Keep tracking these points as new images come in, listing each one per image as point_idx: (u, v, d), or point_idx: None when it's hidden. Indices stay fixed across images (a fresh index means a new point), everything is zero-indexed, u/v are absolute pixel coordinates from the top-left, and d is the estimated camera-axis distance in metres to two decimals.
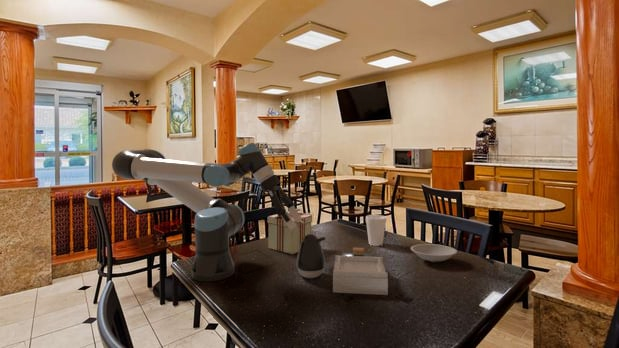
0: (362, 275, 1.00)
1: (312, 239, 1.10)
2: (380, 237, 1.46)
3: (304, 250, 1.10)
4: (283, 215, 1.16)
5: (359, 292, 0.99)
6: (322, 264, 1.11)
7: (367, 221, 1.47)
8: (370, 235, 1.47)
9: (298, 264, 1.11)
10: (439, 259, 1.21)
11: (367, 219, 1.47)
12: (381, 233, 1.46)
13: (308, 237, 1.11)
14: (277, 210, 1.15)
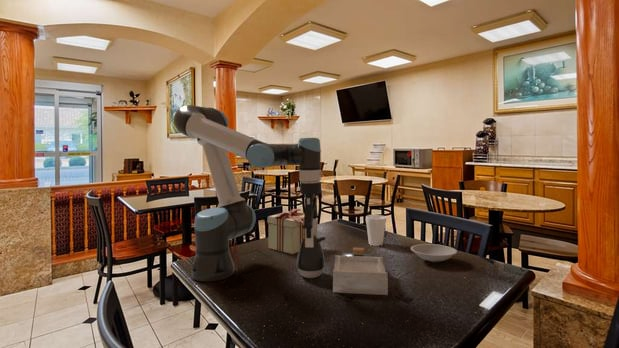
0: (362, 275, 1.00)
1: None
2: (380, 237, 1.46)
3: (304, 249, 1.10)
4: (307, 230, 1.04)
5: (359, 292, 0.99)
6: (322, 264, 1.11)
7: (367, 221, 1.47)
8: (370, 235, 1.47)
9: (298, 264, 1.11)
10: (439, 259, 1.21)
11: (367, 219, 1.47)
12: (381, 233, 1.46)
13: None
14: (305, 222, 1.02)
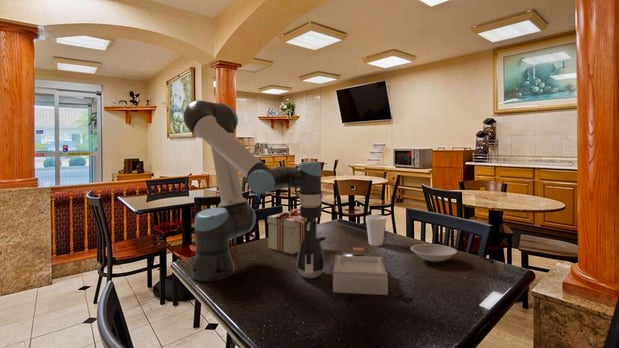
0: (362, 275, 1.00)
1: None
2: (380, 237, 1.46)
3: None
4: (307, 256, 1.06)
5: (359, 292, 0.99)
6: (322, 264, 1.11)
7: (367, 221, 1.47)
8: (370, 235, 1.47)
9: (298, 264, 1.11)
10: (439, 259, 1.21)
11: (367, 219, 1.47)
12: (381, 233, 1.46)
13: None
14: (305, 249, 1.05)
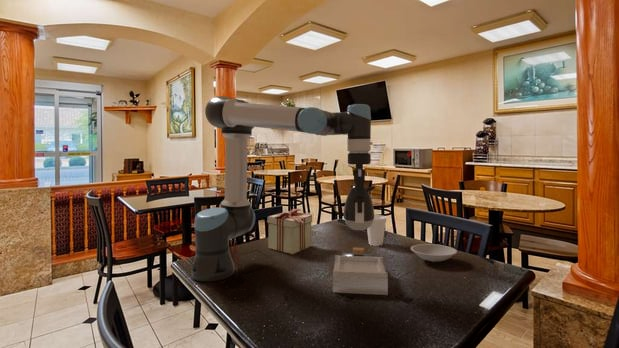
0: (362, 275, 1.00)
1: None
2: (380, 237, 1.46)
3: (353, 199, 1.02)
4: (359, 204, 0.99)
5: (359, 292, 0.99)
6: (372, 215, 1.03)
7: None
8: (370, 235, 1.47)
9: (346, 215, 1.03)
10: (439, 259, 1.21)
11: None
12: (381, 233, 1.46)
13: None
14: (357, 196, 0.97)
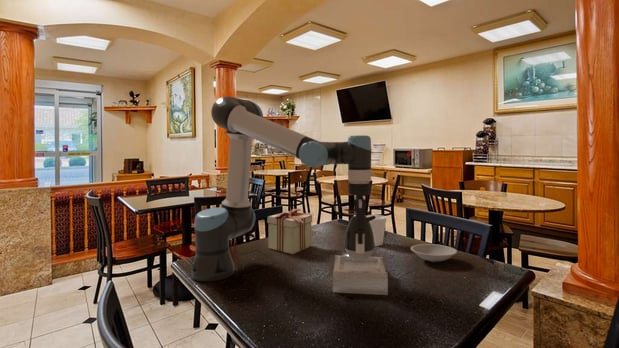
0: (362, 275, 1.00)
1: None
2: (380, 237, 1.46)
3: (354, 229, 1.03)
4: (359, 235, 0.99)
5: (359, 292, 0.99)
6: (373, 244, 1.04)
7: None
8: None
9: (347, 244, 1.04)
10: (439, 259, 1.21)
11: None
12: (381, 233, 1.46)
13: None
14: (358, 228, 0.98)
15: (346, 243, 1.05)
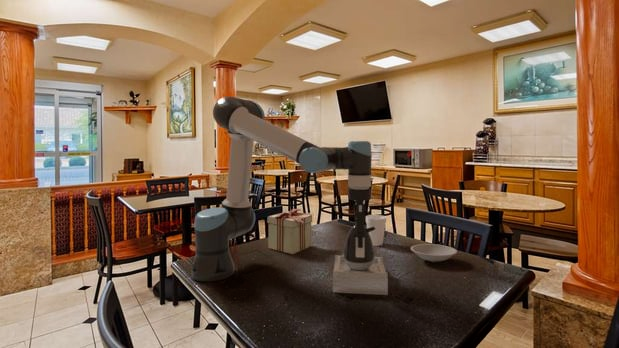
0: (362, 275, 1.00)
1: None
2: (380, 237, 1.46)
3: (353, 240, 1.03)
4: (359, 239, 0.98)
5: (359, 292, 0.99)
6: (372, 255, 1.04)
7: (367, 221, 1.47)
8: (370, 235, 1.47)
9: (347, 255, 1.04)
10: (439, 259, 1.21)
11: (367, 219, 1.47)
12: (381, 233, 1.46)
13: None
14: (358, 231, 0.97)
15: (346, 254, 1.05)
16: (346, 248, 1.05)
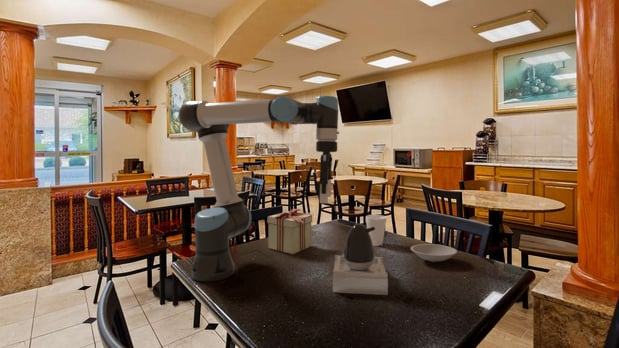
0: (362, 275, 1.00)
1: (362, 229, 1.04)
2: (380, 237, 1.46)
3: (353, 240, 1.03)
4: (323, 185, 1.06)
5: (359, 292, 0.99)
6: (372, 255, 1.04)
7: (367, 221, 1.47)
8: (370, 235, 1.47)
9: (347, 255, 1.04)
10: (439, 259, 1.21)
11: (367, 219, 1.47)
12: (381, 233, 1.46)
13: (357, 227, 1.05)
14: (321, 177, 1.04)
15: (346, 254, 1.05)
16: (346, 248, 1.05)
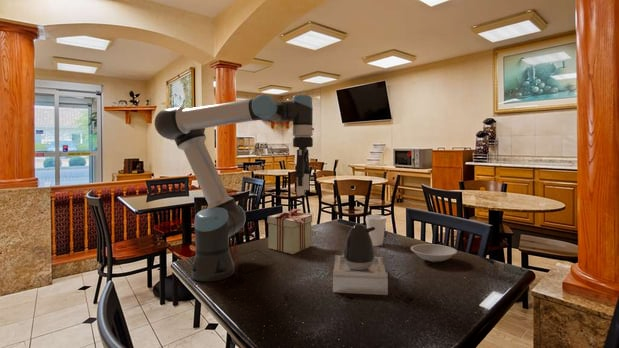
0: (362, 275, 1.00)
1: (362, 229, 1.04)
2: (380, 237, 1.46)
3: (353, 240, 1.03)
4: (299, 178, 1.13)
5: (359, 292, 0.99)
6: (372, 255, 1.04)
7: (367, 221, 1.47)
8: (370, 235, 1.47)
9: (347, 255, 1.04)
10: (439, 259, 1.21)
11: (367, 219, 1.47)
12: (381, 233, 1.46)
13: (357, 227, 1.05)
14: (297, 171, 1.12)
15: (346, 254, 1.05)
16: (346, 248, 1.05)
